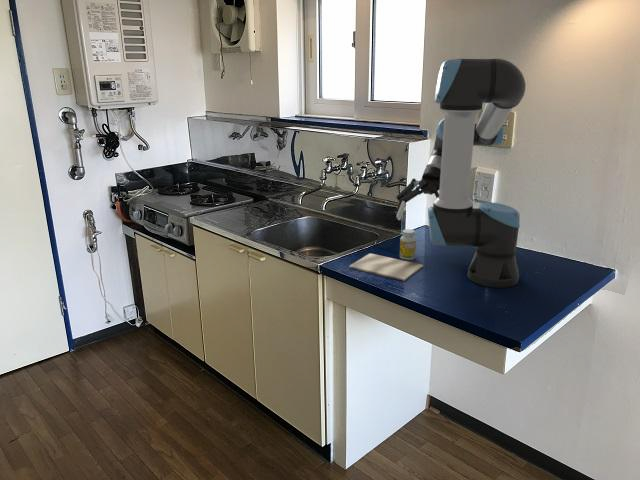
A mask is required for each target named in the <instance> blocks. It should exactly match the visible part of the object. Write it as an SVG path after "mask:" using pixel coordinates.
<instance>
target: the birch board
mask: <svg viewBox="0 0 640 480" xmlns="http://www.w3.org/2000/svg"><path fill="white" fill-rule="evenodd" d="M348 267H349V268H350V269H354V270H357V271H358V270H359V271H361V272H365V273H369V274H374V275H379V276H382V277H385V278H386V277H387V278H390V279H395V280H398V281H403V282H405V281H406V280H408V279H410V277H412V276H413V275H414V274H415V273H417V272H418V271H419V270H420V269H422V268H423V267H424V264H420V263H416V262H412V261H409V260H404V259H398V258H393V257H389V256H384V255H381V254H380V255H379V254H376V253H375V254H374V253H368V254H365V255H364V256H363V257H362V258H360V259H358V260H357V261H355V262H353V263H351V264H350V265H349V266H348Z"/></svg>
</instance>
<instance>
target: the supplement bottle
mask: <svg viewBox="0 0 640 480" xmlns="http://www.w3.org/2000/svg"><path fill="white" fill-rule="evenodd" d="M401 233H402V236H401V237H400V239H399V241H400V242H399V257H400V259H401V260H404V261H410V260H414V259H416V249H417V247H416V246H417V238H416V236H415V230H414V229H410V228H408V229H407V228H406V229H403V230H402V232H401Z"/></svg>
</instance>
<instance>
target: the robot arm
mask: <svg viewBox="0 0 640 480" xmlns="http://www.w3.org/2000/svg"><path fill="white" fill-rule="evenodd" d="M525 92H526V80H525V77H524V74H523V73H522V71H521V70H520V69H519V67H517V66H516V65H515V64H514V63H512V62H511V61H509V60H507V59H503V58H453V59H446V60H445V61H443V63H442V64H441V65H440V69H439V72H438V76H437V82H436V86H435V94H434V102H435V103H436V104H439V111H440V112H441V113H442V114H443V115H444V117H443V119H442V120H440V121H439V122H438V126H437V129H436V135H435V139H434V140H435V141H434V145H433V148H432V151H431V155H430V157H429V159H428V162H427V163H426V166H425V168H424V171H423V173H422V176H421V178H420V180H417V179H416V178H412V179H411V181H410V183H409V184H408V185H406V187H404V188H403V189H402V190H401V192H399V193H398V194H397V195H396V200H397V201H398V202H399V203H398V206H397V213H396V216H395V217H396V219H397V220H398V221H401V220H402V217H403V215H404V212H405V211H406V208H407V203H408V202H409V201H411V200H413V199H414V198H415V197H418V195H422V194H424V195H427V194H428V195H431V196H432V195H434V196H435V197H436V198H435V199H434V200H433V203H432V206H429V207H428V208H427V218H428V219H427V220H428V228H429V230H428V231H429V237H430V241H431V243H432V244H433V245H435V246H444V247H447V246H448V247H450V246H451V247H475V253H474V255H473V258H472V260H471V262H470V263H469V266H468V268H467V278H468V279H469V280H470V281H472V282H473V283H475V284H477V285H480V286H484V287H487V288H488V287H489V288H498V289H501V288H510V287H513V286H517V284H518V282H519V278H520V272H519V268H518V264H517V259H516V252H517V246H518V237H519V228H520V226H521V225H520V221H521V220H520V212H519V211H518V210H517V209H515V208H514V207H512V206H509V205H506V204H503V203H497V202H492V201H490V202H482V203H480V205H479V206H478V207H477V208H474V203H473V201H472V200H471V199H470V198H469V194H470V184H471V182H470V181H471V174H472V159H473V150H474V148H473V147H474V146H483V147H492V146H493V147H494V146H500V145H501V144H502V142H503V138H504V127H503V125H504V123H505V122H506V120H507V119H508V116H509V115H510V112H511V111H512V110H513V109H514V108H515V107H517V106H518V105H519V104H520V103H521V102H522V100H523V98H524V96H525V94H526V93H525ZM484 104H485V106H484V108H483V105H484ZM482 110H483V111H482ZM480 112H482V113H481V115H480V117H479V119H478V121H477V123H476V117H477V115H478V114H479V113H480Z"/></svg>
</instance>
